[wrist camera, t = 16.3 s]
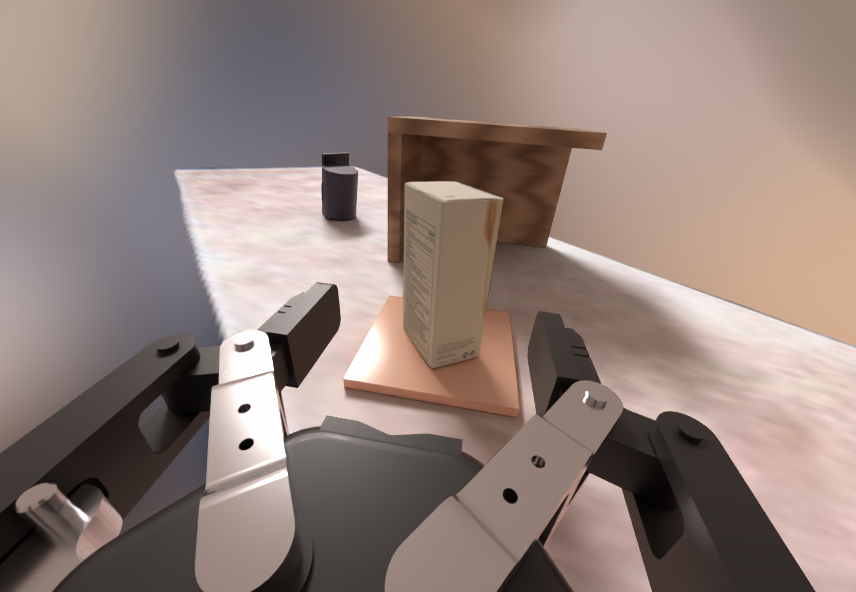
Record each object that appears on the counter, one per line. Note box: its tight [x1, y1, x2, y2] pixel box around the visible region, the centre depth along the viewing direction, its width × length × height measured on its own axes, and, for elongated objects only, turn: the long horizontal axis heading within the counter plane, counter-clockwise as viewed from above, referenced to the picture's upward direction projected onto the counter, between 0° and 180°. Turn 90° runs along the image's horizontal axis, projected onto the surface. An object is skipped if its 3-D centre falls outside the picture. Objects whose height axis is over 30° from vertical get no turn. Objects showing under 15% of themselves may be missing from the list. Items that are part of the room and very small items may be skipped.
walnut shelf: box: [388, 117, 606, 263], centre depth 43 cm, size 22×14×16 cm, turn 81°
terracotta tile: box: [344, 296, 519, 417], centre depth 27 cm, size 12×12×1 cm
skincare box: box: [403, 181, 503, 368], centre depth 24 cm, size 6×4×12 cm
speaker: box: [322, 152, 358, 221], centre depth 55 cm, size 8×6×10 cm
